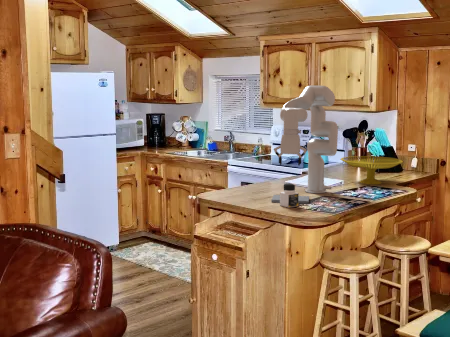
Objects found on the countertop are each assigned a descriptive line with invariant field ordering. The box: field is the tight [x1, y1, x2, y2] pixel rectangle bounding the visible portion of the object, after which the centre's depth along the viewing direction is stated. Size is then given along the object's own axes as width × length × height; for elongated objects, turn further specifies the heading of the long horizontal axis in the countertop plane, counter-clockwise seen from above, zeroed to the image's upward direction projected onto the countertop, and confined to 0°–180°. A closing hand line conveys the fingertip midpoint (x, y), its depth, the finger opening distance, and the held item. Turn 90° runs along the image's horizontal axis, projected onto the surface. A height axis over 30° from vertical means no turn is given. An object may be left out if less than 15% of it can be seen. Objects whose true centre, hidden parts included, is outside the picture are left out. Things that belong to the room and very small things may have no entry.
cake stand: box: [340, 155, 404, 185], centre depth 390 cm, size 40×40×15 cm
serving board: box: [270, 194, 310, 205], centre depth 330 cm, size 20×14×2 cm
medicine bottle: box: [279, 182, 300, 208], centre depth 315 cm, size 7×7×12 cm
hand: (289, 164), depth 313 cm, fingers open, 9 cm apart
